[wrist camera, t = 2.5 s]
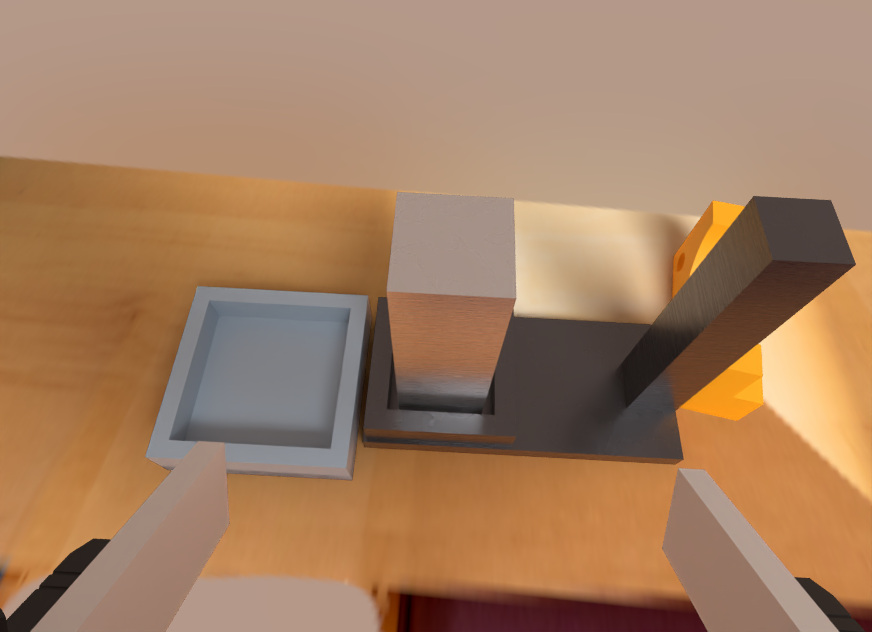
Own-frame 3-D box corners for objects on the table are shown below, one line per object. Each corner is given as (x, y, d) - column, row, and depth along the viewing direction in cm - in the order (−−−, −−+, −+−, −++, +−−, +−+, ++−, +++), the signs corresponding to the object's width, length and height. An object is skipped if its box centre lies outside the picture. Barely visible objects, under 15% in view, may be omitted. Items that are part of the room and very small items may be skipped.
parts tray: (167, 470, 32) (145, 457, 30) (213, 309, 38) (197, 285, 35) (352, 480, 32) (346, 468, 30) (371, 317, 38) (368, 295, 35)
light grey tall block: (399, 411, 33) (386, 291, 21) (405, 338, 36) (397, 192, 23) (480, 415, 33) (516, 298, 21) (481, 342, 36) (513, 198, 23)
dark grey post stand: (364, 447, 33) (318, 307, 18) (379, 318, 38) (351, 119, 23) (675, 464, 33) (884, 338, 18) (654, 333, 38) (809, 144, 23)
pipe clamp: (735, 421, 35) (796, 383, 29) (667, 405, 35) (713, 365, 30) (731, 269, 41) (782, 213, 35) (672, 257, 41) (712, 200, 35)
